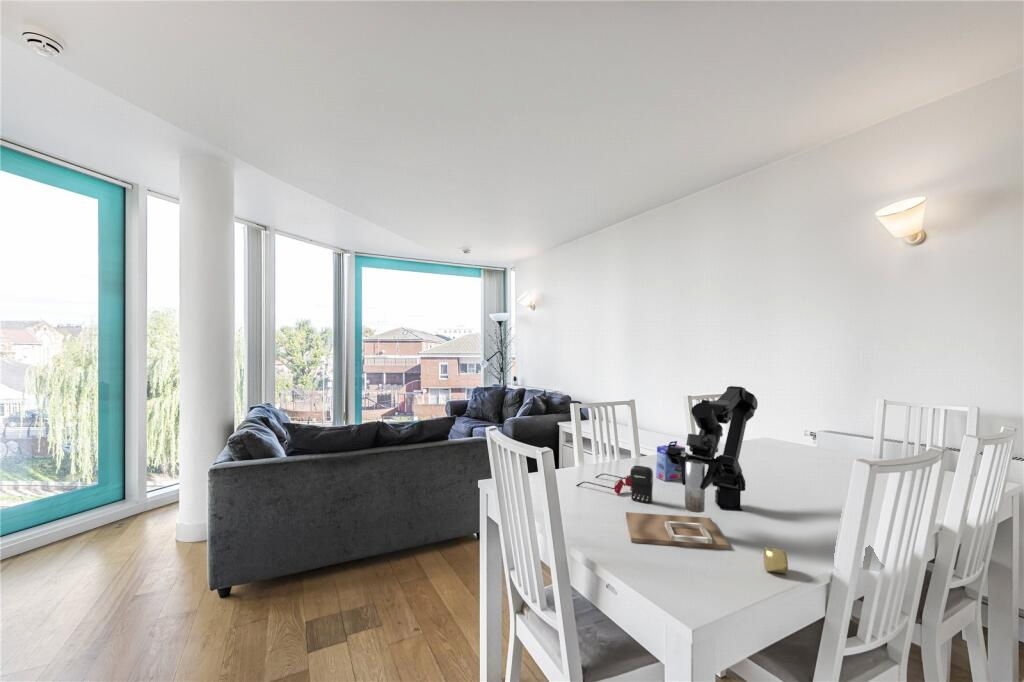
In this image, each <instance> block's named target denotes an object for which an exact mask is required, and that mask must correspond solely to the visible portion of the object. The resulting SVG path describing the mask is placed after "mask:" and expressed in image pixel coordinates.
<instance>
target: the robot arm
mask: <svg viewBox="0 0 1024 682" xmlns="http://www.w3.org/2000/svg"><path fill="white" fill-rule="evenodd" d="M757 409H758V399H757V398H756V396H755V394H753V393H751V392H749V391H748V390H747V389H746V388H745V387H743V386H736V385H735V386H734V385H730V386H727V387H726V390H725V392H724V393H722V395H720V396H719V397H718V398H717V399H716V400H715V399H714V400H708V399H702V400H701V402H699V403H696V404H694V405H693V406H692V408H691V410H690V411H691V415H692V417H693V419H694V421H695V424H696V427H697V428H699V432H698V434H694V433H688V435H687V439H686V444H685V445H686V446H689V449H688V450H689V451H690V452H691V453H688V452H687V451H685V452H684V451H683V449H682V448H680V447H674V446H670V447H668V448H667V451H666V454H667V456H668V458H669V460H670V461H671V463H673V464H676V465H680V467H681V471H682V479H681V484H682V485H683V486H685V461H686V460H700V461H703V462H705V465H707V471H706V472H705V478H704V481H703V484H702V489H703V490H704V489H705V490H706V489H707V488H708V487H709V486H710V485H711V484H712V486H713V487H716V489H715V490H714V491H715V492H714V502H715V504H716V505H717V506H718V507H719V509H720V510H731V511H743V507H742V506H741V497H742V496H741V494H742V493H741V492H743V491H746V480H745V478H744V475H743V470H742V466H741V465H740V462H739V459H740V453H741V450H742V444H743V440H744V436H745V431H746V427H747V422H748V421H749V420H751V419H752V418H753V417H754V414H755V412H756V410H757ZM729 422H730V423H729ZM728 423H729V427H728V432H727V436H726V440H725V443H724V448H723V453H722V454H719V456H718V455H717V456H716V457H715V455H716V453H718V452H719V448H718V446H719V443H720V440H721V437H723V436H724V434H723V430H724V429H723V427H722V424H723V425H727V424H728Z"/></svg>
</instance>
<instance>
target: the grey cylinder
mask: <svg viewBox="0 0 1024 682" xmlns="http://www.w3.org/2000/svg"><path fill="white" fill-rule="evenodd" d="M705 469H706V464H705V462H703V461H700V460H686V461H685V485H684V509H685V510H686V511H688V512H691V513H695V514H696V513H697V514H698V513H700V514H701V513H705V506H706V505H705V504H706V502H705V501H706V500H705V498H706V497H705V496H706V495H705V494H706V491H705V490H706V488H705V489H704V490H703V489H702V484H703V481H704V478H705V475H706V472H705V471H706V470H705Z"/></svg>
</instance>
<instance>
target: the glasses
mask: <svg viewBox="0 0 1024 682" xmlns="http://www.w3.org/2000/svg"><path fill="white" fill-rule="evenodd" d="M600 476H609V477H614V478H619V479H618V480H617V481H616V482H615V483H614V487H611V486H605V485H603V484H599V483H598V484H597V483H594V482H589V481H582V482H580V483H578V484H576V485H575V486H576V487H579V486H581V485H582V484H585V483H587V484H590V485H595V486H599V487H602V488H607V489H611V490H614V492H615V493H616V494H617V495H619V494H620V493H621V491H622V489H623V486H624V487H625V486H626V487H630V488H632V482H630V474H628V475H626V476H624V477H622V476H617V475H613V474H608V473H601V474H598V475H596V476H595V478H596V479H597V478H599V477H600ZM624 481H625V482H624Z"/></svg>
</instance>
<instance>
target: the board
mask: <svg viewBox="0 0 1024 682" xmlns="http://www.w3.org/2000/svg"><path fill="white" fill-rule="evenodd" d="M625 519H626V523H627V529H628V533H629V537H630V541H631V542H630V543H637V544H648V545H649V544H650V545H660V546H662V545H664V546H672V547H673V546H675V547H687V548H689V547H690V548H702V549H715V550H716V549H717V550H726V551H728V550H730V544H729V543H728V541H727V540H726V539H725V537H724V536H723V534H722V533H721V531H720V530H719V528H718V527H717V526H716V524H715V522H714V521H713V520H712V518H711V517H707V516H706V517H705V516H692V515H690V516H689V515H676V514H674V515H673V514H657V513H644V512H625Z"/></svg>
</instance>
